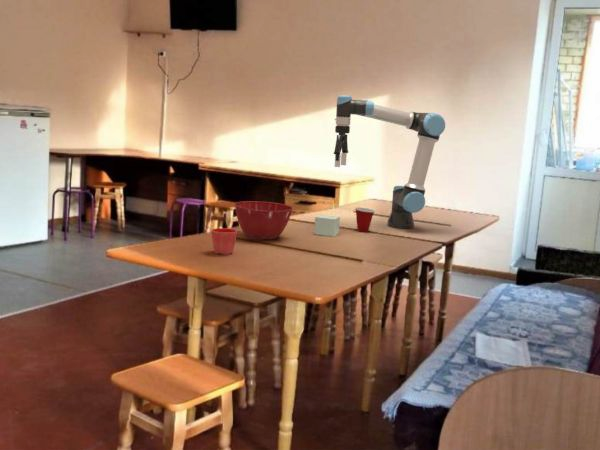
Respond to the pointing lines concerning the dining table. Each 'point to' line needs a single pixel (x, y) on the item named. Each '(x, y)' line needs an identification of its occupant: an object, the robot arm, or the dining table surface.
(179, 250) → the dining table surface
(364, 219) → the plastic cup
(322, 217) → the pale green brick
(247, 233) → the mixing bowl
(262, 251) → the dining table surface
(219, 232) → the flower pot
